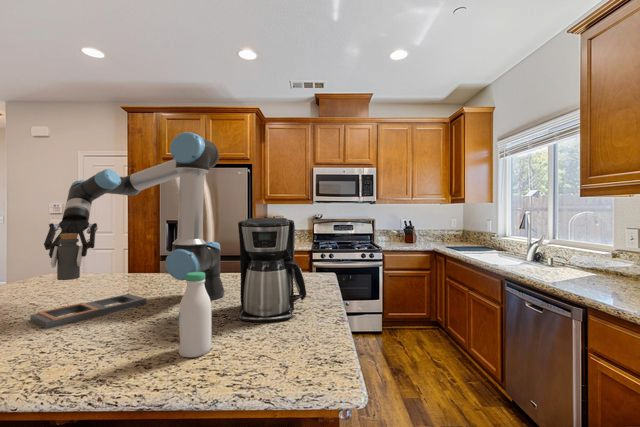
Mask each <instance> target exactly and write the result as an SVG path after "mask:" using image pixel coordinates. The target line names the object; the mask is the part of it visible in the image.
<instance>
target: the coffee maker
mask: <svg viewBox="0 0 640 427" xmlns="http://www.w3.org/2000/svg"><path fill="white" fill-rule="evenodd" d="M237 224H238V226H237V227H238V228H237V229H238V238H239V255H240V256H239V259H240V262H239V263H240V295H239V296H240V311H239V312H240V314H239V315H238V318H239V319H240V320H241V321H243V322H252V323H253V322H256V323H257V322H259V323H261V322H263V323H264V322H277V321H283V320H288V319H290V318H291V317H292V316H293V311H295V302H296V301H297V300H299V299H300V300H301V301H303V300H304V299H305V298H306V297H307V287H306V282H305V277H304V274H303V271H302V268H301V267H300V264H299V263H297V262H295V254H296V253H295V243H296V241H295V240H296V238H295V237H296V226H295V221H294V220H292V219H288V218H286V217H255V218H253V217H252V218H247V219H245V220H239V222H238V223H237ZM294 284H295V286H296V289H297V291H298V294H294Z"/></svg>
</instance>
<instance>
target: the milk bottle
mask: <svg viewBox="0 0 640 427" xmlns="http://www.w3.org/2000/svg"><path fill="white" fill-rule="evenodd" d="M204 282H205V273H204V272H191V273H187V274H186V280H185V283H186V286H185V287H186V288H185V291H184V294H183V295H182V297H181V300H180V303H179V308H178V353H179V356H181V357H184V358H196V357H201V356H204V355H206V354H207V353H209V352H210V351H211V348H212V302H211V301H212V300H210V298H209V295H208V293H207V291H206V289H205V285H204Z"/></svg>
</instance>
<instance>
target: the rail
mask: <svg viewBox="0 0 640 427" xmlns="http://www.w3.org/2000/svg"><path fill="white" fill-rule="evenodd" d="M120 302H122V303H120ZM116 303H117V304H116ZM111 304H112V305H111ZM146 304H147V298H145V297H141V296H137V295H135V294H130V293H126V294H122V295H116V296H113V297H107V298H103V299H97V300H94V301H88V302H80V303H77V304H76V303H75V304H71V305H66V306H61V307H55V308H51V309H47V310H43V311H37V313H32V314H30V316H29V317H30V318H29V321H30V322H32V323H33V324H35V325H37V326H39V327H41V328H43V329H45V330H48V329H51V328H56V327H59V326H64V325H67V324H71V323H76V322H80V321H83V320H88V319H90V318H95V317H100V316H104V315H107V314H111V313H115V312H119V311H123V310H127V309H130V308H131V309H132V308H135V307H139V306H143V305H146ZM107 305H108V306H107ZM63 315H64V316H63Z"/></svg>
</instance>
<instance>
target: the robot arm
mask: <svg viewBox="0 0 640 427" xmlns="http://www.w3.org/2000/svg"><path fill="white" fill-rule="evenodd" d="M169 153H170V155H171V157H172V158H173V159H170V160H168V161H166V162H162V163H159V164H156V165H153V166H151V167H148V168H145V169H143V170H140V171H137V172H134V173H132V174H128V175H126V176H120V175H119V174H118V173H117V172H116V171H114V170H113V169H110V168H106V169H103V170H102V171H98V172H97V173H96V174H94V175H91V177H89V178H88V179H85V180H84V179H80V180H75V181H73V182H72V183H71V185H70V187H69V189H68V195H67V198H66V202H65V203H66V204H65V207H64V212H63V213H62V214H63V215H62V219H61V221H60V222H59V223H57V224H55V223H53V222H52V223H49V224H48V227H49V230H48V232H47V235H46V238H45V240H44V243H43V246H44V249H45V250H46V251H49V252H48V255H49V259H50V265H51V268H57V249H58V247H59V246H61V243H60V242H59V240H60V239H61V237H60V234H66V233H77V234H78V237H79V239H80V243H81V245H78V246H79V252H78V257H77V265H78V266H80V267H81V266H82V265H81V264H82V260H83V257H86V256H87V253H88V249H94V248H95V243H96V232H97V231H98V223H96V222H94V223H93V224H92V223H90V222H89V220H90V213H91V209H92V203H93V201H95V200H96V199H99V198H100V197H102V196H104V195H106V194H110V195H122V196H136V195H138V194H139V193H140V192H141V191H144V190H147V189H149V188H152V187H154V186H157V185H161V184H163V183H165V182H170V181H172V180H174V179H176V178H179V188H178V189H179V190H178V214H177V215H178V216H177V236H176V239H175V240H174V241H173V242H172V250H171V251H170V252H169V254H168V255H167V256H166V258H165V268H166V272H167V273H168V274H169V275H170V276H171V277H172V278H174V279H175V280H178V281H186V274H187V273H191V272H204V273H205V282H204V285H205V289H206V291H207V293H208V295H209V298H210V301H214V300H218V299H220V298H223V297H224V296H225V288H224V286H223V282H222V279H221V252H222V250H221V244H220V243H219V242H215V241H205V240H204V238H203V222H204V221H203V220H204V200H205V198H204V197H205V176H206V175H207V174H209V172H210V169H213V168H214V167H215V166H216V165H217V163H218V162H219V159H220V152H219V149H218V147H217V146H216V144H214V143H213V142H212V141H210V140H208V139H206V138H204V137H202V136H201V135H199V134H197V133H194V132H189V131H185V132H184V131H183V132H181V133H179V134H178V135H176V136H175V137H174V138H172V140H171V143H170V147H169ZM88 228H89V231H90V232H89V242H87V239H86V237H85V233H84V231H86V230H87V229H88ZM59 229H61V231H60V233H58V235H57V236H56V234H57V233H56V232H57V231H58V230H59ZM55 236H56V237H55Z"/></svg>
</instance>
